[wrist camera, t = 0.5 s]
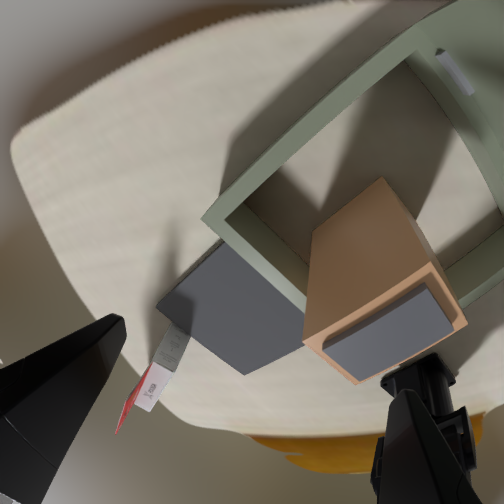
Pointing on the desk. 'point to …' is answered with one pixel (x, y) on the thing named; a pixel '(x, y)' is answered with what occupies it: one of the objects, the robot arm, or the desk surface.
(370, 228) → the box
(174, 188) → the desk surface
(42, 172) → the desk surface
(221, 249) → the rubber mat
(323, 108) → the case
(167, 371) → the ink cartridge box
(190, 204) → the desk surface
